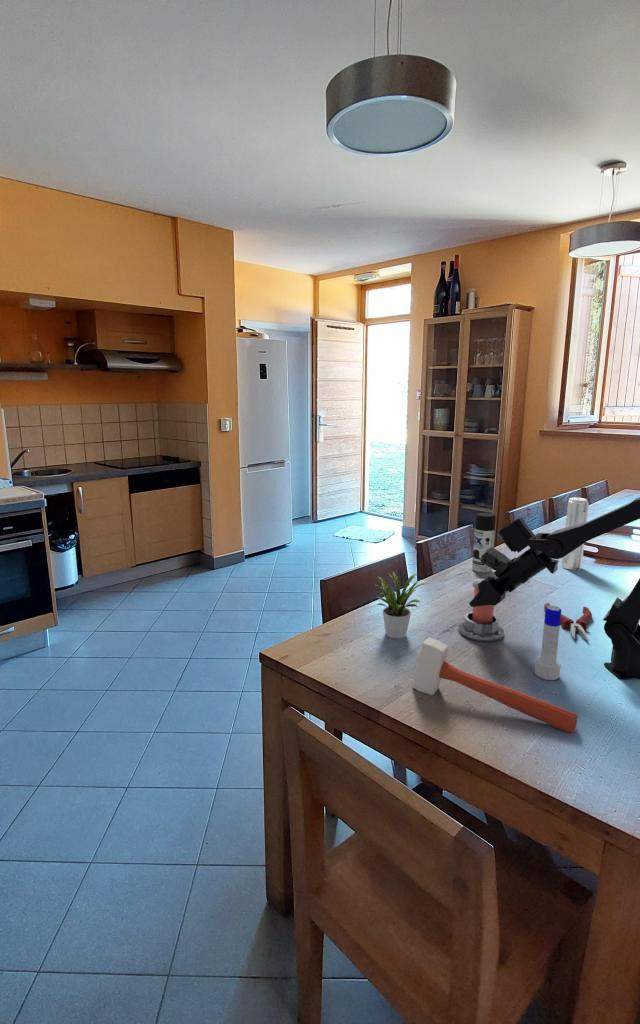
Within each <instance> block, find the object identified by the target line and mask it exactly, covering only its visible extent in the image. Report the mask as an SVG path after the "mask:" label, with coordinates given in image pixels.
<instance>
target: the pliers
mask: <svg viewBox="0 0 640 1024" xmlns="http://www.w3.org/2000/svg"><path fill="white" fill-rule="evenodd" d="M547 606H551V604H550V602H549V603H548V602H547V603H545V604H544V606H543V610H544V611H545V609H546V607H547ZM582 614H583V615H581V616H580V617H579V618H578V619H576V621H575V622H574V620H573V619H571V618H569V617H568V616H566V615H564V614H562V613H561V619H560V626H561V628H562V630H565V629H568V630H569V631H570V632H569V634H570V636H571V638H572V639H573V640H574V641H575V639H576V633H578V635H579V636H580V637H581V638H582V639H584V640H585V641H587V642H588V641H589V638H588V636H587V634H586V631H587V630H588V623H590V621H591V620H592V618H593V617H592V616H593V614H592V611H591V610H590V608H588V607H587V606H583V607H582Z"/></svg>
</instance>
